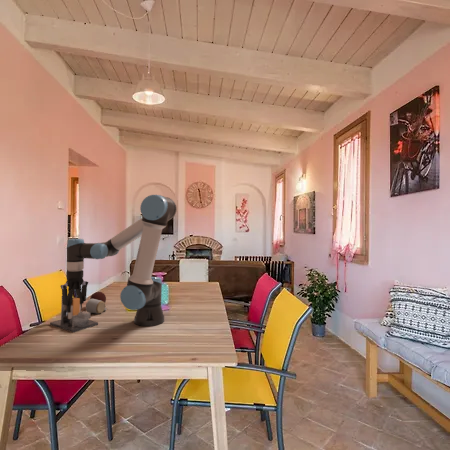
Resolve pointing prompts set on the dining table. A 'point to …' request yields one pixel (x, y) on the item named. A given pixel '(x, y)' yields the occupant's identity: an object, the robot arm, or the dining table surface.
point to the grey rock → (80, 318)
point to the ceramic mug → (95, 306)
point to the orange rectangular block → (76, 305)
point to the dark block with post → (70, 322)
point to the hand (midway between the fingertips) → (74, 317)
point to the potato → (99, 296)
